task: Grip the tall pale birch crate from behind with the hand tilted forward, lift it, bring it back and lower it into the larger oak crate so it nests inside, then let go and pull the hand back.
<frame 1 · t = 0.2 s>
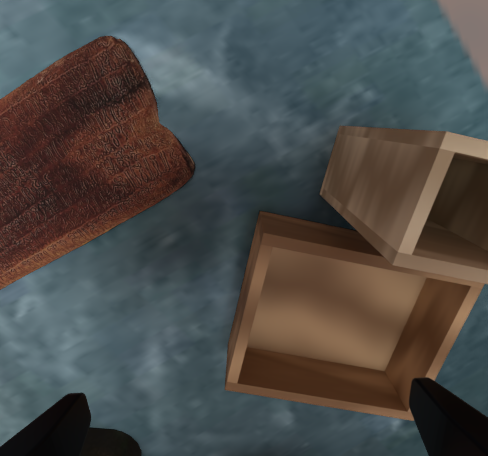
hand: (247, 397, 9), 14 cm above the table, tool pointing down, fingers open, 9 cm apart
oak crate: (328, 298, 24), on the table
wooden tablet: (9, 201, 22), on the table
birch crate: (372, 170, 21), on the table
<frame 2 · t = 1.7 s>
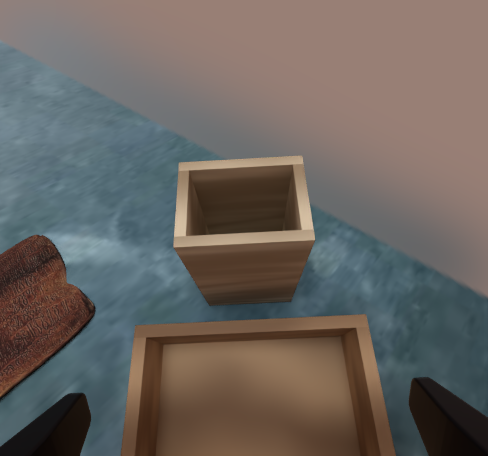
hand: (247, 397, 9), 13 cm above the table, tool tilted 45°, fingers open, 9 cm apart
oak crate: (255, 426, 20), on the table
birch crate: (248, 274, 24), on the table
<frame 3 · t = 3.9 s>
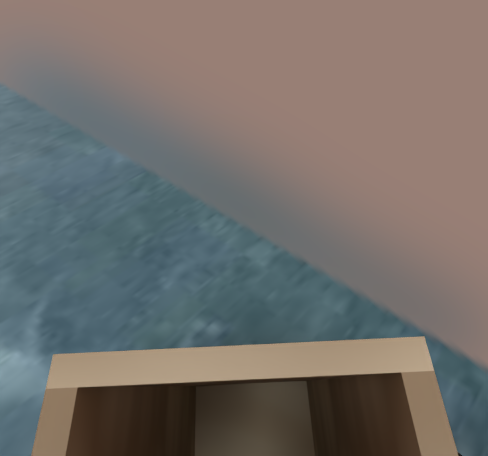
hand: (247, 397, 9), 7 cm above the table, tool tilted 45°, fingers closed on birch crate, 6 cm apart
birch crate: (253, 427, 14), on the table, touching gripper
when the fingers open (9 cm above the table, at t = 7.2 s): birch crate drops 2 cm, resting on oak crate.
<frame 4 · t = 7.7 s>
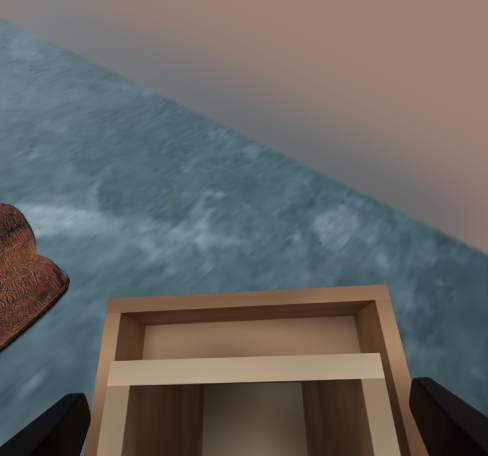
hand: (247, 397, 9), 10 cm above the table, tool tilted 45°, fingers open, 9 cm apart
oak crate: (254, 420, 17), on the table
birch crate: (253, 422, 16), point 1 cm above the table, touching oak crate
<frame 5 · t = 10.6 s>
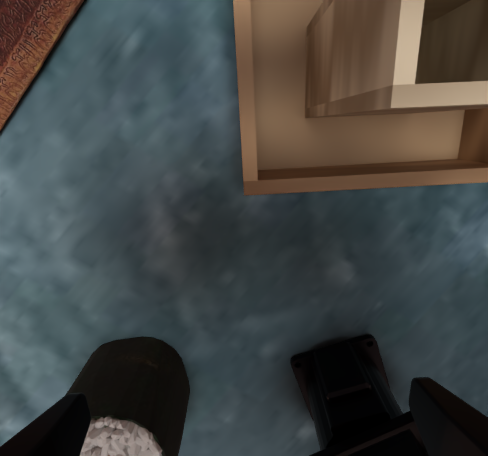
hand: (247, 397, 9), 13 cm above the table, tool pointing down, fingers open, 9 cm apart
sushi: (141, 378, 25), on the table
oak crate: (355, 74, 18), on the table
birch crate: (360, 72, 17), point 1 cm above the table, touching oak crate
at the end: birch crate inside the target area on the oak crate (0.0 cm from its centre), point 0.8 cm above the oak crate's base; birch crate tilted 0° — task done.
